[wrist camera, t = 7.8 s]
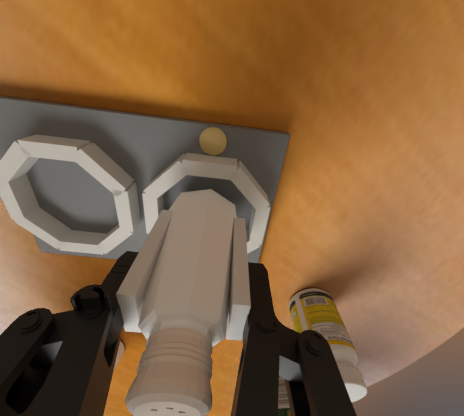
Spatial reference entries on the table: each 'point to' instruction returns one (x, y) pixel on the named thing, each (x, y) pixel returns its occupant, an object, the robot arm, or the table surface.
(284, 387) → the coffee jar
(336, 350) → the supplement bottle
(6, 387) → the robot arm
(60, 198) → the collar board
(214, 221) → the pepper shaker
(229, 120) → the table surface
